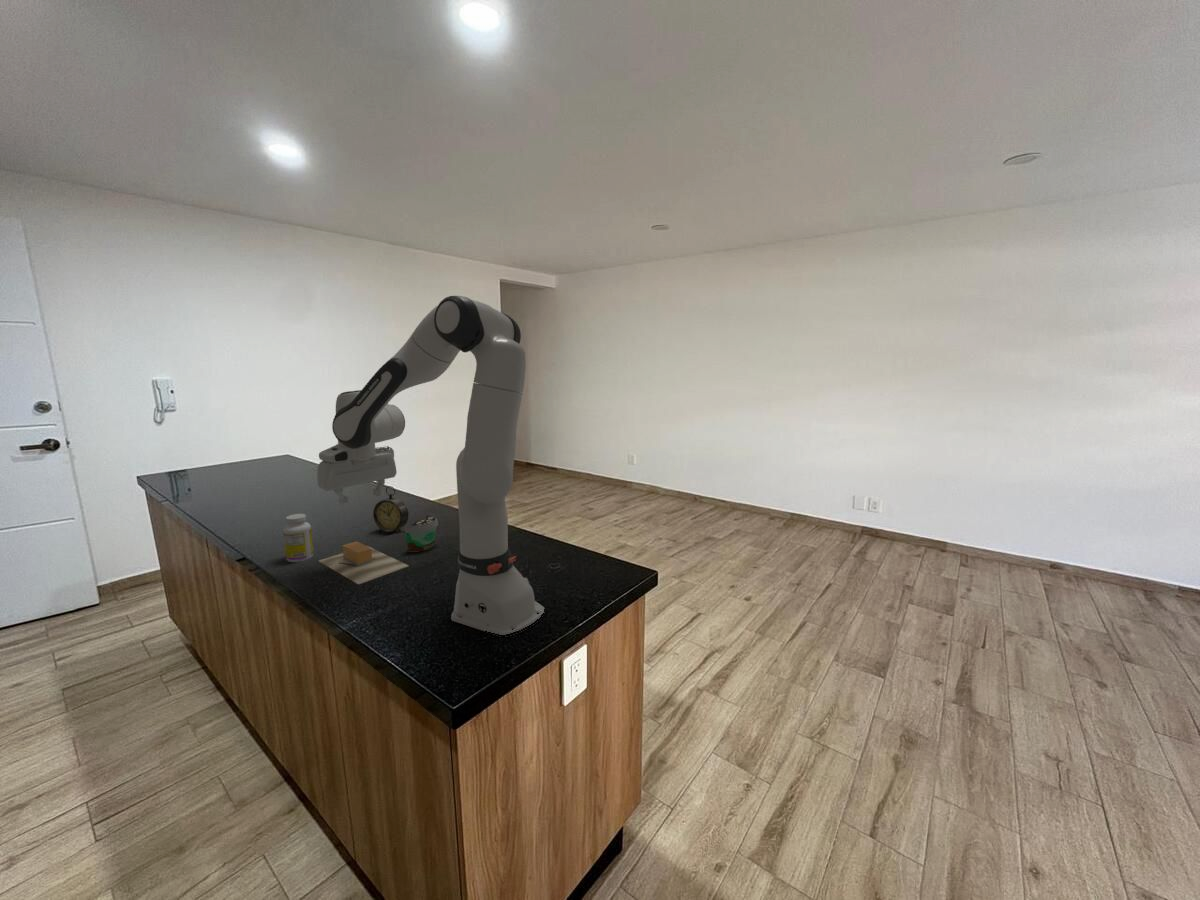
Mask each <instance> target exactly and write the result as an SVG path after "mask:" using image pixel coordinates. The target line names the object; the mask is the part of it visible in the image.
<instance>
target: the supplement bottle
mask: <svg viewBox="0 0 1200 900" xmlns="http://www.w3.org/2000/svg"><path fill="white" fill-rule="evenodd" d="M285 520H286V521H285V522H286V523H287V525H285V526H284V527H283V529H282V531H283V539H284V550H285V559H286V562H289V563H301V562H300V561H302V562H305V561H308V560H310V559H312V558H313V556H314V546H313V545H314V544H313V536H312V535H313V534H312V526H311V524H310V523H309V522H307V517H306V514H305V513H295V514H290V515H288V516H286V519H285Z"/></svg>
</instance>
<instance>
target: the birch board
mask: <svg viewBox="0 0 1200 900" xmlns="http://www.w3.org/2000/svg"><path fill="white" fill-rule="evenodd" d="M367 546H368V547H370V546H369V545H367ZM370 548H371V549H372V562H370V563H367V564H364V565H361V566H356V565H354V564H352V563H350V562H349V561H347V560H345V559H343V552H342V553H339V554H335V555H332V556H329V557H326V558H323V559H319V560H318V562H319V563H321V564H322V565H324V566H326V567H327V568H330V569H331V570H333V571H335V572H336V573H338V574H339V575H342V576H343V577H345V578H347V579H348V580H350V581H352V582H353V583H355V584H357V585H362V584H364V583H367V582H370V581H372V580H376V579H378V578H380V577H384V576H386V575H388V574H391V573H394V572H397V571H399V570H403V569H405V568H408V567H409V565H408V564H407V563H404V562H403V561H401V560H398V559H396V558H395V557H391V556H389V555H387V554H386V553H383V552H381V551H379V550H376V549H375V548H373V547H370Z"/></svg>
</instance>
